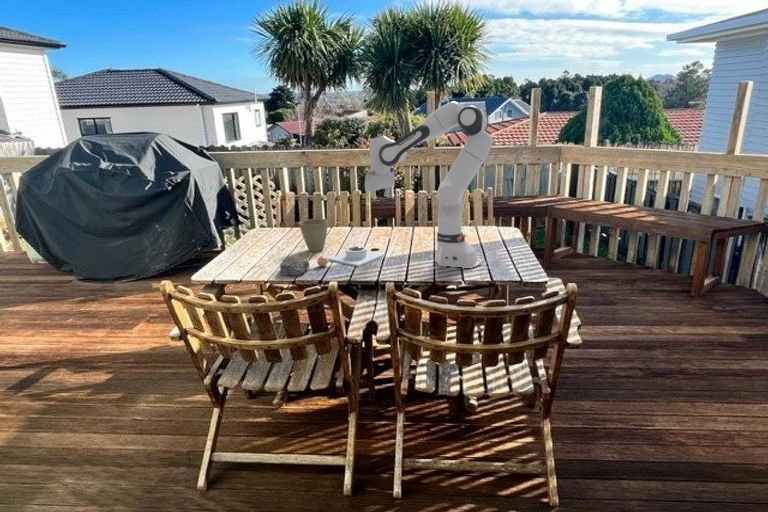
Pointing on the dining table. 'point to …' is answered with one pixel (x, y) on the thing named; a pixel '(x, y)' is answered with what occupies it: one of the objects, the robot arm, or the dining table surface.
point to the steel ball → (357, 248)
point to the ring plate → (356, 262)
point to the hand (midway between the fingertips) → (380, 197)
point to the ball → (322, 261)
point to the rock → (293, 266)
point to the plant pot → (314, 233)
